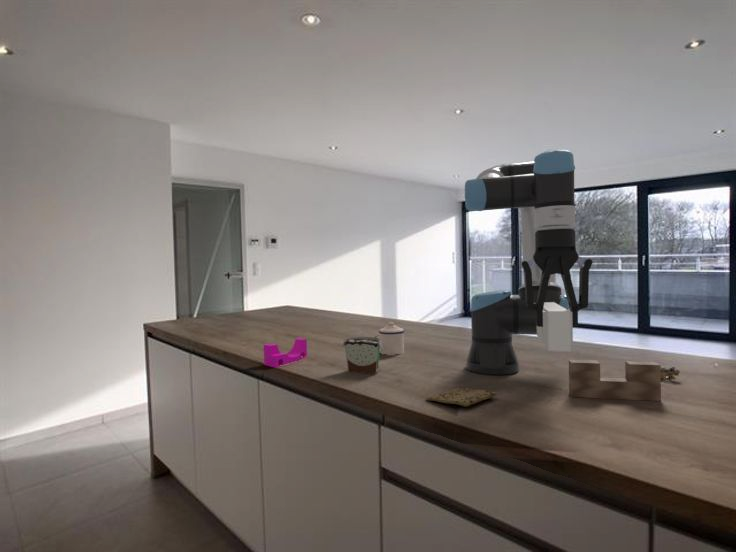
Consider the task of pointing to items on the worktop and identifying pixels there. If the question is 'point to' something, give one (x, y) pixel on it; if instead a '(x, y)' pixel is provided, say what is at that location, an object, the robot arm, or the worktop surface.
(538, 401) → the worktop surface
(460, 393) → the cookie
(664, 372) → the frog figurine
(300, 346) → the toy block
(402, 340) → the teacup with lid
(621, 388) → the walnut notched block
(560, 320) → the white bridge
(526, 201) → the robot arm
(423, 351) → the worktop surface
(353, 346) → the food container
